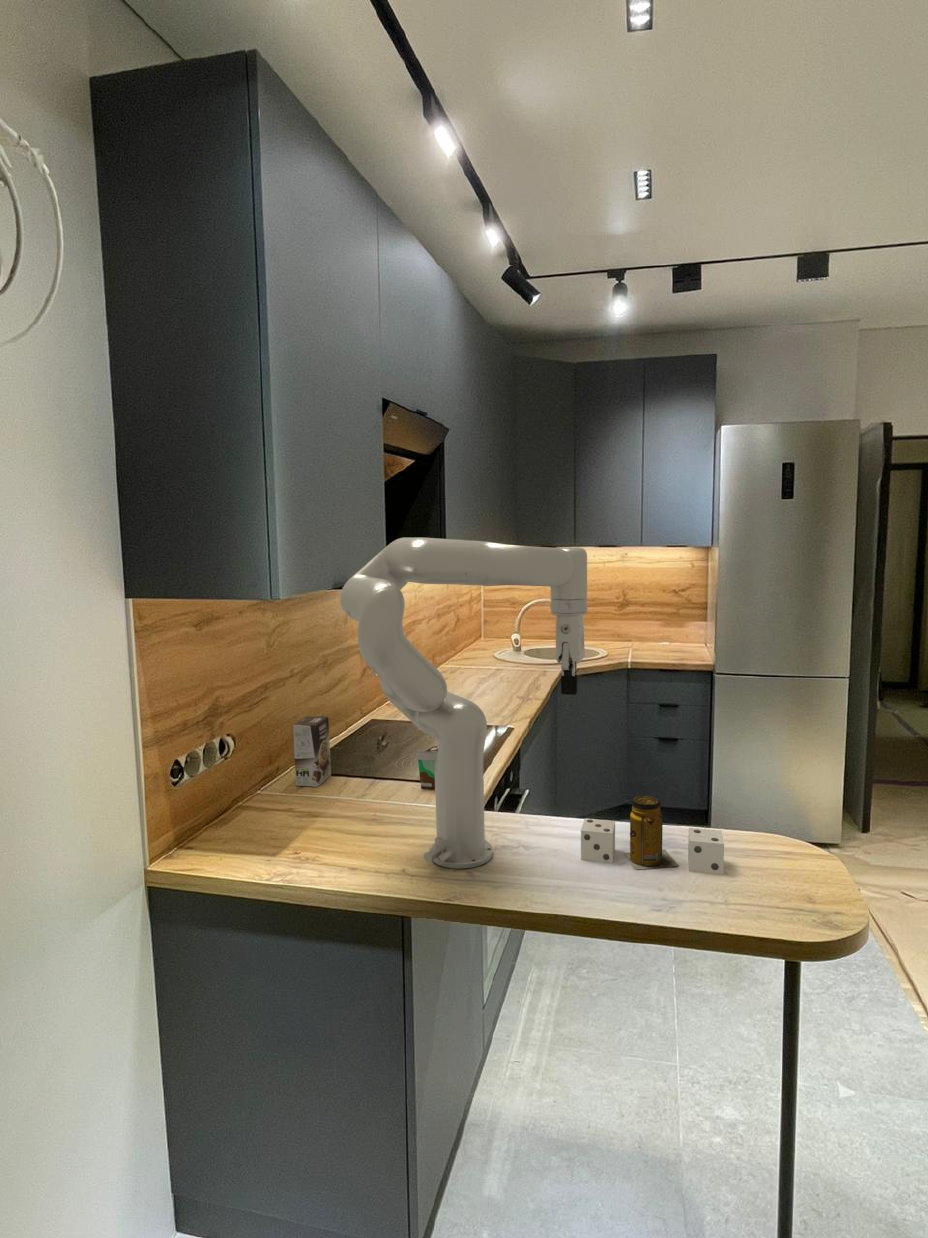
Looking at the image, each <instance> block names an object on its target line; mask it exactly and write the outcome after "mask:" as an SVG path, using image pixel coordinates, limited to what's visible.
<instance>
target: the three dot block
mask: <svg viewBox="0 0 928 1238" xmlns="http://www.w3.org/2000/svg"><path fill="white" fill-rule="evenodd" d="M615 852H616V821H615V820H609V819H607V820H605V819H595V818H584V819H583V822H582V826H581V829H580V861H589V862H590V861H591V862H599V863H608V864H613V863H614V857H615Z"/></svg>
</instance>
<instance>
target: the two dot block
mask: <svg viewBox="0 0 928 1238" xmlns="http://www.w3.org/2000/svg"><path fill="white" fill-rule="evenodd" d="M724 841H725V840H724V836H723V830H719V829H707V828H696V827H695V828H694V827H688V845H687V846H688V850H687V851H688V852H687V853H688V855H687V857H688V872H691V873H692V872H693V873H704V874H711V875H712V874H713V875H722V876H723V875H724V864H725V861H724V857H725V842H724Z"/></svg>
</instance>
